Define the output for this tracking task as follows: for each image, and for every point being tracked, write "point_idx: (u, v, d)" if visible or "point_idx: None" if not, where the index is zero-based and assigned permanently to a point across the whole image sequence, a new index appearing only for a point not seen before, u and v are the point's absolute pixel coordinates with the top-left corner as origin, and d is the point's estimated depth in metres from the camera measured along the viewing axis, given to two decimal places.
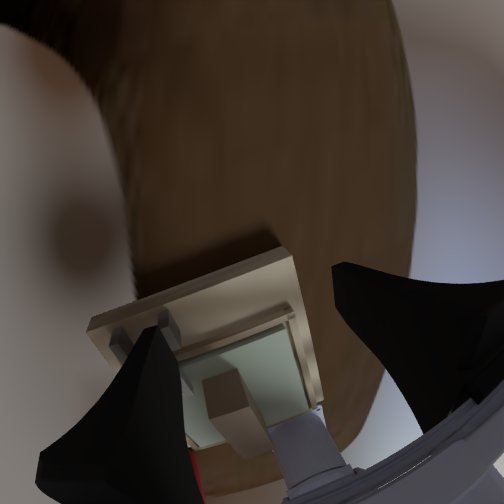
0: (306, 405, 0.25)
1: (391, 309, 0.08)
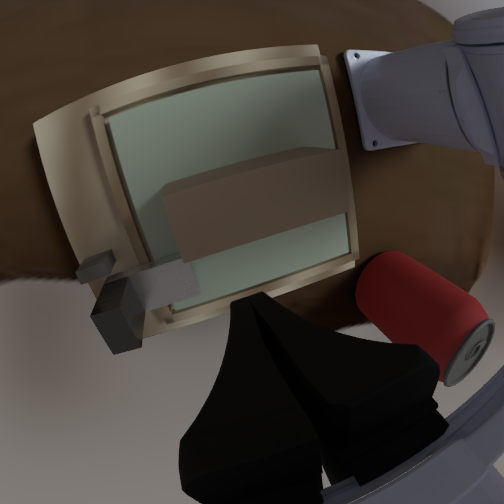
0: (304, 73, 0.14)
1: (284, 356, 0.07)
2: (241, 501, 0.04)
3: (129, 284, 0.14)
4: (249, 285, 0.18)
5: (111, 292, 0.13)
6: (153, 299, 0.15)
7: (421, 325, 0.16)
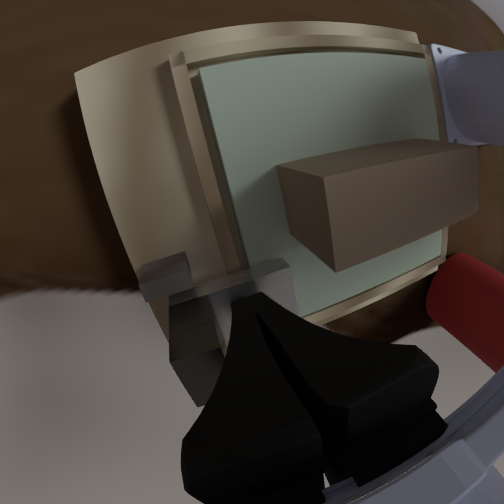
0: (415, 59, 0.10)
1: (283, 357, 0.07)
2: (243, 501, 0.04)
3: (211, 306, 0.11)
4: (353, 294, 0.14)
5: (192, 320, 0.10)
6: None
7: None
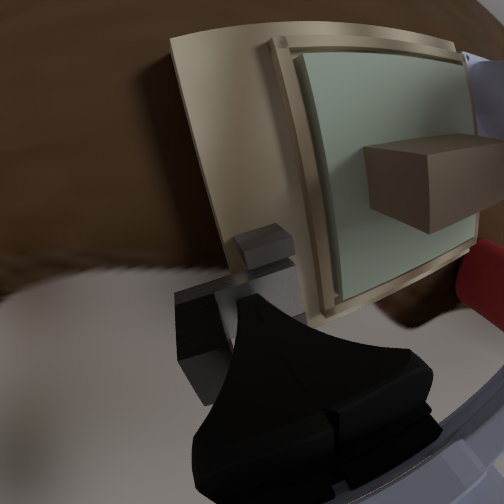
0: (456, 66, 0.11)
1: None
2: (253, 498, 0.04)
3: (217, 305, 0.11)
4: (411, 267, 0.15)
5: (198, 319, 0.10)
6: None
7: None
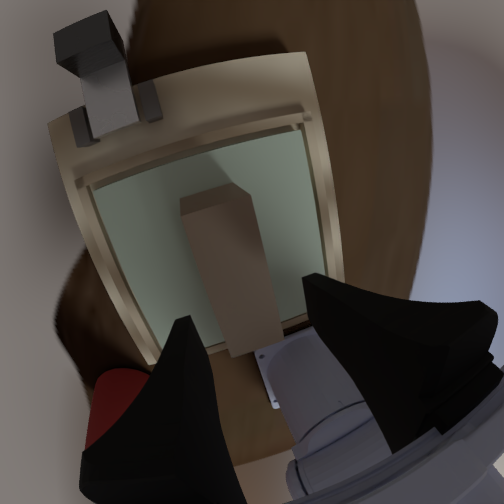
0: None
1: (355, 326, 0.08)
2: None
3: (117, 59, 0.10)
4: (124, 269, 0.16)
5: (116, 38, 0.09)
6: (93, 86, 0.10)
7: None
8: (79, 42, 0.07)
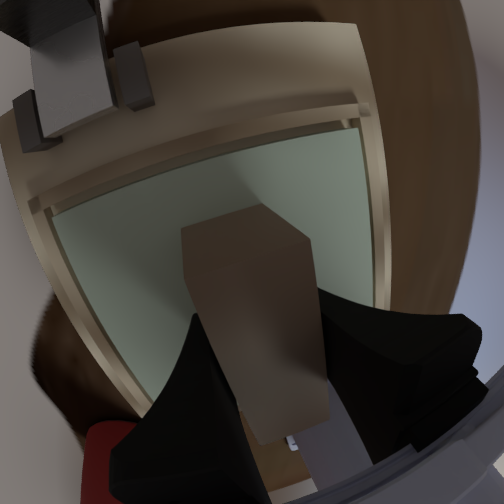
0: None
1: (333, 336, 0.07)
2: None
3: (83, 12, 0.05)
4: (105, 327, 0.10)
5: None
6: (47, 56, 0.05)
7: None
8: None
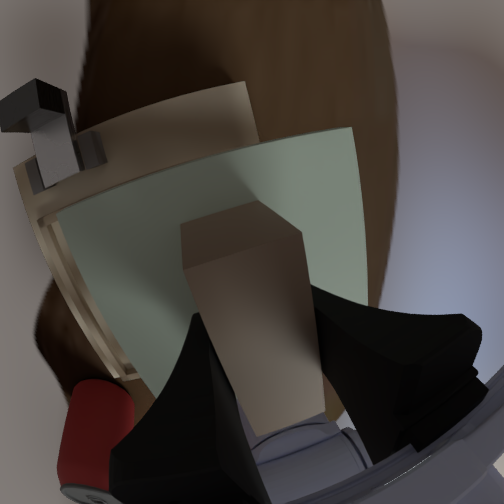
0: None
1: (333, 336, 0.07)
2: None
3: (57, 115, 0.11)
4: (107, 320, 0.11)
5: (52, 98, 0.10)
6: (41, 140, 0.11)
7: (95, 451, 0.15)
8: (16, 112, 0.08)
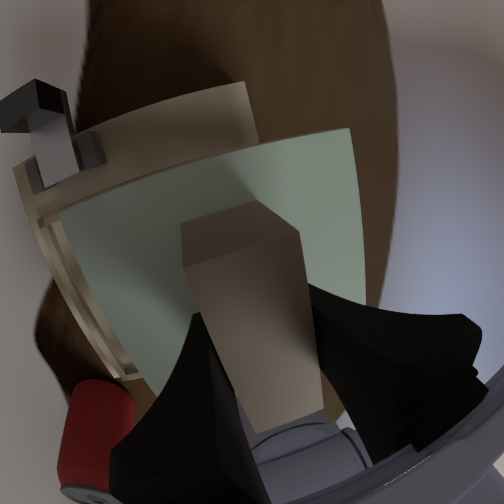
0: None
1: (333, 336, 0.07)
2: None
3: (57, 115, 0.11)
4: (108, 318, 0.11)
5: (52, 99, 0.10)
6: (41, 140, 0.11)
7: (95, 451, 0.15)
8: (16, 112, 0.08)
